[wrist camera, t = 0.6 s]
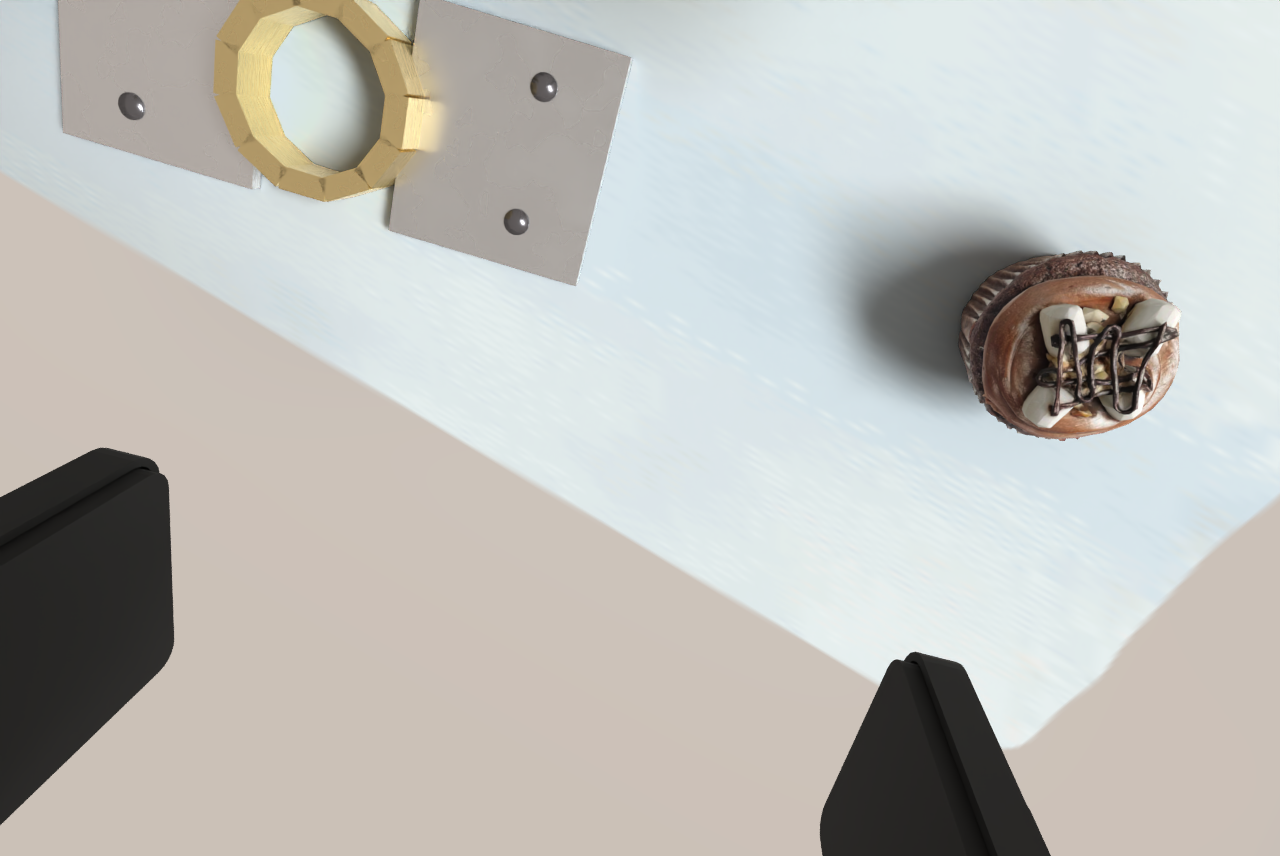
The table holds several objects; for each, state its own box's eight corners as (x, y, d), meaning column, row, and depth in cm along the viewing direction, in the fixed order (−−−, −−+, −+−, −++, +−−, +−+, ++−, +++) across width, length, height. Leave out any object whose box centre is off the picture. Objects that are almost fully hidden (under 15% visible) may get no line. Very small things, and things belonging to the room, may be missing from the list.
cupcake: (947, 420, 43) (1008, 499, 34) (936, 256, 40) (1001, 294, 30) (1123, 393, 41) (1239, 469, 32) (1128, 220, 38) (1259, 248, 29)
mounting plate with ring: (66, -114, 37) (14, -133, 34) (632, 59, 37) (625, 53, 35) (74, 132, 42) (29, 132, 39) (577, 283, 42) (568, 294, 39)
